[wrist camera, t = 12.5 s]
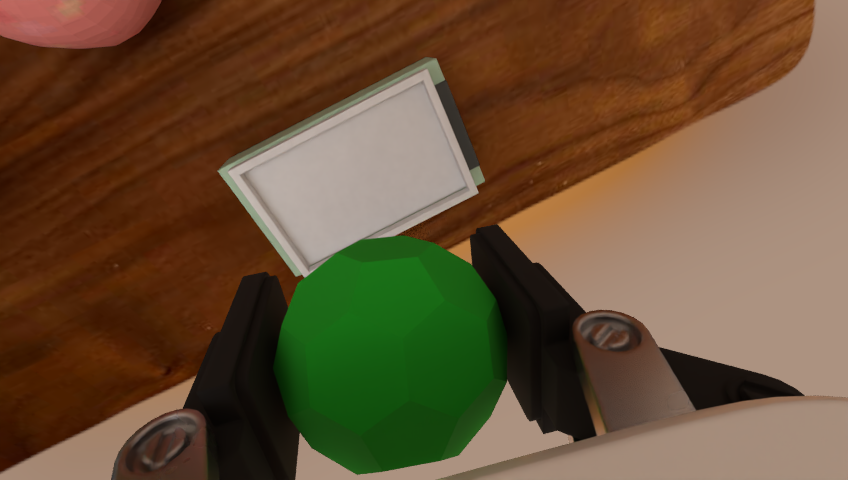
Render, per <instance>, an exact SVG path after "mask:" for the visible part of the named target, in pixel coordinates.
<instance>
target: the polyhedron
mask: <svg viewBox="0 0 848 480" xmlns="http://www.w3.org/2000/svg"><path fill="white" fill-rule="evenodd" d="M273 370H274V373H275V376H276V379H277V383H278V386H279V389H280V392H281V395H282V398H283V401H284V405H285V408H286V411H287V414H288V417H289V418H290V420H291V421H292V422H293V424H294V425H295V426H296V428H297V429H298V430H299V432H300V433H301V434H302V436H303V437H304V438H305V440H306V441H307V442H308V444H309V445H310V446H311V448H313V449H314V450H316V451H318V452H319V453H321V454H323V455H325V456H326V457H328V458H330V459H331V460H333V461H335V462H336V463H338V464H340V465H342V466H343V467H345V468H347V469H348V470H350V471H352V472H353V473H355V474H357V475H358V474H367V473H375V472H383V471H389V470H394V469H399V468H404V467H409V466H415V465H420V464H426V463H431V462H436V461H441V460H444V459H448V458H451V457H455V456H458V455H459V454H460V453H461V452H462V451H463V449H464V448H465V447H466V446H467V444H468V443H469V442H470V441H471V439H472V438H473V437H474V436H475V435H476V433H477V432H478V431H479V430H480V429H481V427H482V426H483V425H484V424H485V423H486V421H487V420H488V419H489V418H490V416H491V414H492V412H493V410H494V408H495V405H496V404H497V402H498V399H499V397H500V395H501V393H502V391H503V389H504V387H505V385H506V383H507V332H506V329H505V326H504V323H503V320H502V316H501V313H500V310H499V307H498V303H497V300H496V298H495V297H494V295H493V294H492V293H491V291H490V290H489V288H488V287H487V286H486V284H485V283H484V281H483V280H482V279H481V277H480V276H479V275H478V273H477V272H476V270H475V269H474V268H473V266H472V265H471V264H470V263H468V262H466V261H465V260H463V259H461V258H459V257H458V256H456V255H454V254H452V253H450V252H449V251H447V250H445V249H443V248H442V247H440V246H438V245H436V244H435V243H432V242H428V241H424V240H420V239H416V238H412V237H408V236H404V235H403V236H392V237H382V238H371V239H361V240H359V241H357V242H355V243H353V244H352V245H350V246H348V247H346V248H344V249H342V250H340V251H339V252H337V253H335V254H334V255H333V256H332V257H330V258H329V259H328V260H327V261H325V262H324V263H323V264H322V265H320V266H319V267H318V268H317V269H315V270H314V271H313V272H312V273H310V274H309V275H308V276H307V277H305V278H304V279H303V280H302V281H300V282H299V283H298V285H297V288H296V290H295V293H294V295H293V298H292V300H291V303H290V305H289V308H288V310H287V313H286V316H285V318H284V321H283V323H282V326H281V330H280V335H279V340H278V345H277V350H276V355H275V360H274V365H273Z"/></svg>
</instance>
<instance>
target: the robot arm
mask: <svg viewBox="0 0 848 480" xmlns="http://www.w3.org/2000/svg"><path fill="white" fill-rule="evenodd" d="M470 244H471V256H472V266H473V268H474V269H475V270H476V272H477V273H478V275H479V276H480V277H481V279H482V280H483V281H484V283H485V284H486V286H487V287H488V288H489V290H490V291H491V293H492V294H493V295H494V297H495V298H496V300H497V303H498V307H499V310H500V313H501V316H502V320H503V323H504V326H505V329H506V332H507V380H508V382H509V384H510V386H511V388H512V390H513V392H514V394H515V396H516V398H517V399H518V401H519V403H520V405H521V407H522V409H523V411H524V413H525V415H526V417H527V419H528V420H529V421H533V420H536V421H537V423H538V425H539V427H540V429H541V430H542V432H543V434H545V433H549V432H553V431H557V430H558V431H561V432H563V433H565V434H567V435H568V440H569V444H566V445H562V446H558V447H555V448H551V449H548V450H544V451H540V452H536V453H533V454H529V455H525V456H521V457H518V458H514V459H511V460H507V461H503V462H499V463H496V464H492V465H488V466H485V467H481V468H477V469H474V470H471V471H467V472H463V473H460V474H456V475H452V476H449V477H445V478H441V479H438V480H848V398H846V397H830V396H804V395H803V394H802V393H801V392H799V391H798V390H797V389H795V388H794V387H792V386H790V385H788V384H786V383H784V382H782V381H780V380H778V379H775V378H772V377H769V376H766V375H763V374H759V373H756V372H752V371H748V370H744V369H740V368H737V367H733V366H729V365H725V364H721V363H717V362H714V361H710V360H706V359H702V358H698V357H694V356H690V355H687V354H683V353H679V352H676V351H672V350H668V349H664V348H660V347H658V345H657V344H656V342H655V340H654V339H653V338H652V335H651V334H650V332H649V331H648V329H647V328H646V327H645V326H644V325H643V323H641V322H640V321H638V320H637V319H635V318H634V317H631V316H629V315H626V314H624V313H621V312H616V311H612V310H596V311H589V312H587V313H586V312H585V311H584V310H583V309H582V308H581V306H580V305H578V303H577V302H576V301H575V300H574V299H573V298H572V297H571V296H570V295H569V294H568V293H567V292H566V291H565V289H564V288H562V286H561V285H560V284H559V283H558V282H557V281H556V280H555V279H554V278H553V277H552V276H551V275H550V274H549V272H548V271H547V270H546V269H545V268H544V267H543V266H542V265H541V264H539V263H532V262H531V261H530V260H529V259H528V258H527V256H526V255H525V254H524V253H523V252H522V251H521V250H520V249H519V248H518V247H517V245H516V244H515V243H514V242H513V241H512V240H511V239H510V238H509V237H508V236H507V234H506V233H504V231H503V230H502V229H501V228H500V227H499V226H498V225H497V224H496V225H491V226H486V227H481V228H477V229H476V234H473V235H471V236H470ZM287 310H288V306H287V303H286V300H285V298H284V295H283V292H282V289H281V286H280V283H279V280H278V278H277V276H269V274H268V273H267V272H263V273H258V274H253V275H248V276H244V277H243V278H242V280H241V283H240V285H239V288H238V290H237V293H236V295H235V298H234V300H233V302H232V305H231V307H230V310H229V312H228V315H227V317H226V320H225V322H224V325H223V327H222V330H221V332H218V333H216V334H215V335H214V337H213V338H212V341H211V343H210V345H209V348H208V350H207V353H206V355H205V357H204V360H203V362H202V364H201V367H200V369H199V371H198V374H197V376H196V378H195V381H194V383H193V386H192V388H191V390H190V393H189V395H188V397H187V400H186V402H185V405H184V407H183V409H179V410H175V411H171V412H169V413H165V414H163V415H161V416H159V417H157V418H155V419H153V420H151V421H150V422H148V423H147V424H146V425H144V426H143V427H141V428H140V429H139V430H137V431H136V432H135V433H134V434H133V435H132V436H131V437H130V438H129V439H128V440H127V441H126V443H125V444H124V446H123V447H122V448H121V450H120V451H119V453H118V456H117V458H116V461H115V463H114V468H113V473H112V478H111V480H295V476H296V466H297V455H298V445H299V434H300V432H299V430H298V429H297V428H296V426H295V425H294V424H293V422H292V421H291V420H290V418H289V417H288V414H287V411H286V408H285V405H284V401H283V398H282V395H281V392H280V389H279V386H278V383H277V379H276V376H275V373H274V370H273V365H274V360H275V355H276V350H277V345H278V340H279V335H280V330H281V326H282V323H283V321H284V318H285V316H286V313H287Z"/></svg>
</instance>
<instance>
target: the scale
mask: <svg viewBox="0 0 848 480" xmlns="http://www.w3.org/2000/svg"><path fill="white" fill-rule="evenodd" d="M479 165H480V164H479V162H478V159H477V157H476V154H475V152H474V149H473V147H472V144H471V142H470V139H469V137H468V134H467V131H466V129H465V126H464V124H463V121H462V119H461V116H460V114H459V111H458V109H457V106H456V104H455V101H454V99H453V96H452V94H451V91H450V89H449V86H448V84H447V81H446V80H445V79H444V76H443V74H442V71H441V69H440V66H439V64H438V61H437V59H436V58H429V57H425V58H423V59H421V60H419V61H417V62H415V63H414V64H412V65H410V66H408V67H406V68H404V69H402V70H400V71H398V72H396V73H394V74H392V75H390V76H388V77H386V78H384V79H382V80H381V81H379V82H377V83H375V84H373V85H371V86H369V87H367V88H365V89H363V90H361V91H359V92H357V93H355V94H353V95H351V96H350V97H348V98H346V99H344V100H342V101H340V102H338V103H336V104H334V105H332V106H330V107H328V108H326V109H324V110H322V111H320V112H318V113H317V114H315V115H313V116H311V117H309V118H307V119H305V120H303V121H301V122H299V123H297V124H295V125H293V126H291V127H289V128H287V129H285V130H284V131H282V132H280V133H278V134H276V135H274V136H272V137H270V138H268V139H266V140H264V141H262V142H260V143H258V144H256V145H254V146H253V147H251V148H249V149H247V150H245V151H243V152H241V153H239V154H237V155H235V156H233V157H231V158H229V159H228V160H227V161H226V162H225V163H224V165H223V166H222V167H221V168H220V169H219V170H218V172H219V173H220V175H221V176H222V177H223V179H224V180H225V181H226V183H227V184H228V185H229V187H230V188H231V189H232V191H233V192H234V194H235V195H236V196H237V198H238V199H239V200H240V202H241V203H242V204H243V206H244V207H245V208H246V210H247V211H248V212H249V214H250V215H251V217H252V218H253V219H254V221H255V222H256V223H257V225H258V226H259V227H260V229H261V230H262V231H263V233H264V234H265V235H266V237H267V238H268V239H269V241H270V242H271V244H272V245H273V246H274V248H275V249H276V250H277V252H278V253H279V254H280V256H281V257H282V258H283V260H284V261H285V262H286V264H287V265H288V266H289V268H290V269H291V271H292V272H293V273H294V275H295V276H296V277H297V276H299V275H301V274H302V275H303V276H304V278H305V277H307V276H308V275H309V274H310V273H312V272H313V271H314V270H315V269H317V268H318V267H319V266H320V265H322V264H323V263H324V262H325V261H327V260H328V259H329V258H330V257H332V256H333V255H334V254H335V253H337V252H339V251H340V250H342V249H344V248H346V247H348V246H350V245H352V244H353V243H355V242H357V241H359V240H361V239H371V238H382V237H392V236H395V235H397V234H399V233H401V232H403V231H405V230H407V229H409V228H411V227H413V226H415V225H417V224H419V223H421V222H423V221H425V220H427V219H429V218H430V217H432V216H434V215H436V214H438V213H440V212H442V211H444V210H446V209H448V208H450V207H452V206H454V205H456V204H458V203H460V202H462V201H464V200H466V199H468V198H470V197H472V196H474V195H476V194H478V190H477V188H476V186H477V185H479V184H481V183H483V182H484V181H485V179H484V177H483V174H482V172H481V169H480V167H479Z"/></svg>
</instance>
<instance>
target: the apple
mask: <svg viewBox="0 0 848 480" xmlns="http://www.w3.org/2000/svg"><path fill="white" fill-rule="evenodd" d="M161 1H162V0H0V35H1V36H3V37H6V38H9V39H13V40H17V41H20V42H24V43H27V44H31V45H36V46H41V47H56V48H74V49H83V48H96V47H107V46H116V45H118V44H120V43H122V42H124V41H126V40H127V39H129V38H131V37H132V36H134V35H136V34H138V33H139V32H140V31H141V30H142V29H143V28H144V26H145V25H146V24H147V23H148V21H149V20H150V19H151V18H152V17H153V15H154V14H155V12H156V10H157V8H158V6H159V5H160V3H161Z"/></svg>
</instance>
